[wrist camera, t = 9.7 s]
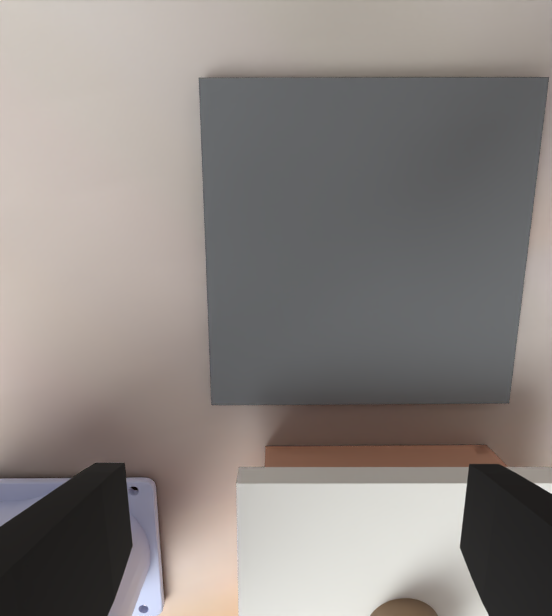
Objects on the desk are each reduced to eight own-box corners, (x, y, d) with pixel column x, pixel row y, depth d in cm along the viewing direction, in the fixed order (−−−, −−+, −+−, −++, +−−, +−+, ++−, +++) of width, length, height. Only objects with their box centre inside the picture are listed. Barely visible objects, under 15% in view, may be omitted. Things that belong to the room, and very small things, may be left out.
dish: (267, 627, 21) (266, 716, 17) (265, 446, 19) (263, 501, 15) (465, 625, 21) (508, 713, 18) (486, 444, 19) (540, 499, 15)
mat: (213, 399, 19) (211, 405, 18) (201, 83, 16) (198, 77, 15) (501, 398, 19) (509, 403, 18) (539, 82, 16) (549, 77, 16)
